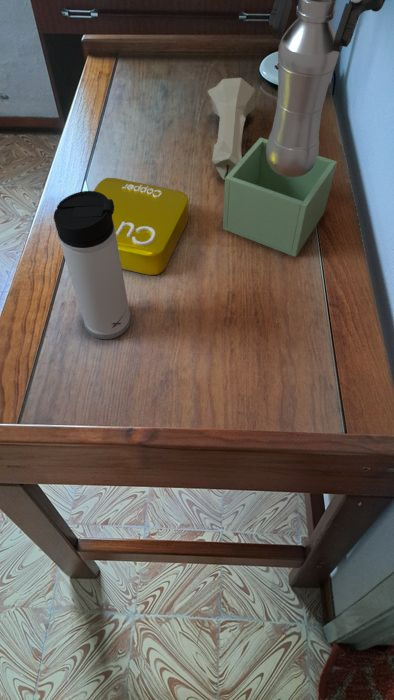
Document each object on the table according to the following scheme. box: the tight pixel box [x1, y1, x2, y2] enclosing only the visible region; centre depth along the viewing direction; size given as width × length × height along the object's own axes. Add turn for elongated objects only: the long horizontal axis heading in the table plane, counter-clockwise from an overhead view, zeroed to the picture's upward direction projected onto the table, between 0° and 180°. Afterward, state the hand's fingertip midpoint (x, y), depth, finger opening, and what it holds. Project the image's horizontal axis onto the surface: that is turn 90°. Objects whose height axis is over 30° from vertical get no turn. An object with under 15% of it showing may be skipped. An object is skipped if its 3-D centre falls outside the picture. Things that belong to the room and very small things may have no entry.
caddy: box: [222, 137, 338, 258], centre depth 78 cm, size 13×12×10 cm
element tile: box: [93, 177, 190, 276], centre depth 78 cm, size 15×15×5 cm
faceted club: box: [207, 77, 256, 181], centre depth 90 cm, size 9×8×25 cm
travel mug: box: [53, 190, 131, 340], centre depth 62 cm, size 6×7×20 cm
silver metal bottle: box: [266, 0, 340, 177], centre depth 58 cm, size 6×7×20 cm
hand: (306, 41), depth 52 cm, fingers closed on silver metal bottle, 6 cm apart
